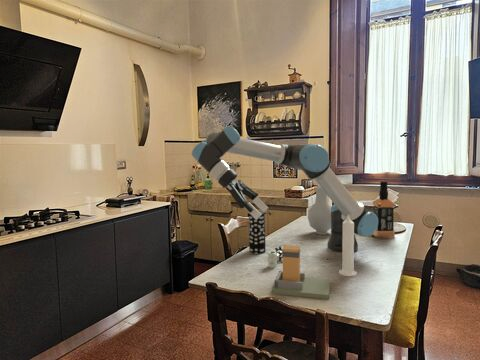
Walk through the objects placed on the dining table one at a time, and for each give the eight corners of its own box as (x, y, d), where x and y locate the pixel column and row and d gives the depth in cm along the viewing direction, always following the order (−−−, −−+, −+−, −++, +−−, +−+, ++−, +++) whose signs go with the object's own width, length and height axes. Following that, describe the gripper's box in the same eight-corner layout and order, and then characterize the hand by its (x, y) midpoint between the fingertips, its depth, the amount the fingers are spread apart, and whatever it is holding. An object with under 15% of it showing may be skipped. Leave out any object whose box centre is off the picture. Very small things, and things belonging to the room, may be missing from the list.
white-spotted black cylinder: (264, 254, 172) (263, 214, 170) (248, 253, 174) (247, 214, 172) (266, 249, 180) (265, 211, 178) (250, 248, 182) (250, 211, 180)
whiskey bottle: (395, 238, 195) (396, 181, 192) (377, 238, 195) (378, 182, 192) (387, 233, 205) (388, 180, 202) (371, 233, 206) (371, 180, 202)
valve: (277, 269, 151) (287, 260, 162) (277, 254, 151) (287, 247, 161) (264, 267, 155) (274, 259, 165) (263, 252, 154) (273, 245, 164)
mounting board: (329, 282, 136) (329, 272, 135) (329, 299, 121) (329, 288, 121) (279, 278, 141) (279, 268, 140) (272, 293, 126) (272, 283, 126)
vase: (339, 231, 212) (339, 186, 209) (331, 238, 199) (331, 189, 196) (313, 228, 221) (313, 185, 218) (303, 234, 207) (303, 188, 205)
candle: (336, 270, 148) (336, 213, 145) (352, 270, 148) (353, 212, 146) (342, 277, 140) (343, 216, 138) (359, 276, 141) (360, 215, 139)
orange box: (300, 281, 134) (300, 245, 132) (299, 286, 129) (298, 249, 127) (284, 280, 135) (284, 245, 134) (282, 285, 130) (282, 248, 129)
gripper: (227, 178, 147) (262, 213, 145) (206, 185, 124) (248, 228, 121) (239, 165, 145) (275, 201, 143) (220, 170, 122) (262, 213, 119)
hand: (262, 213), depth 132 cm, fingers open, 13 cm apart
